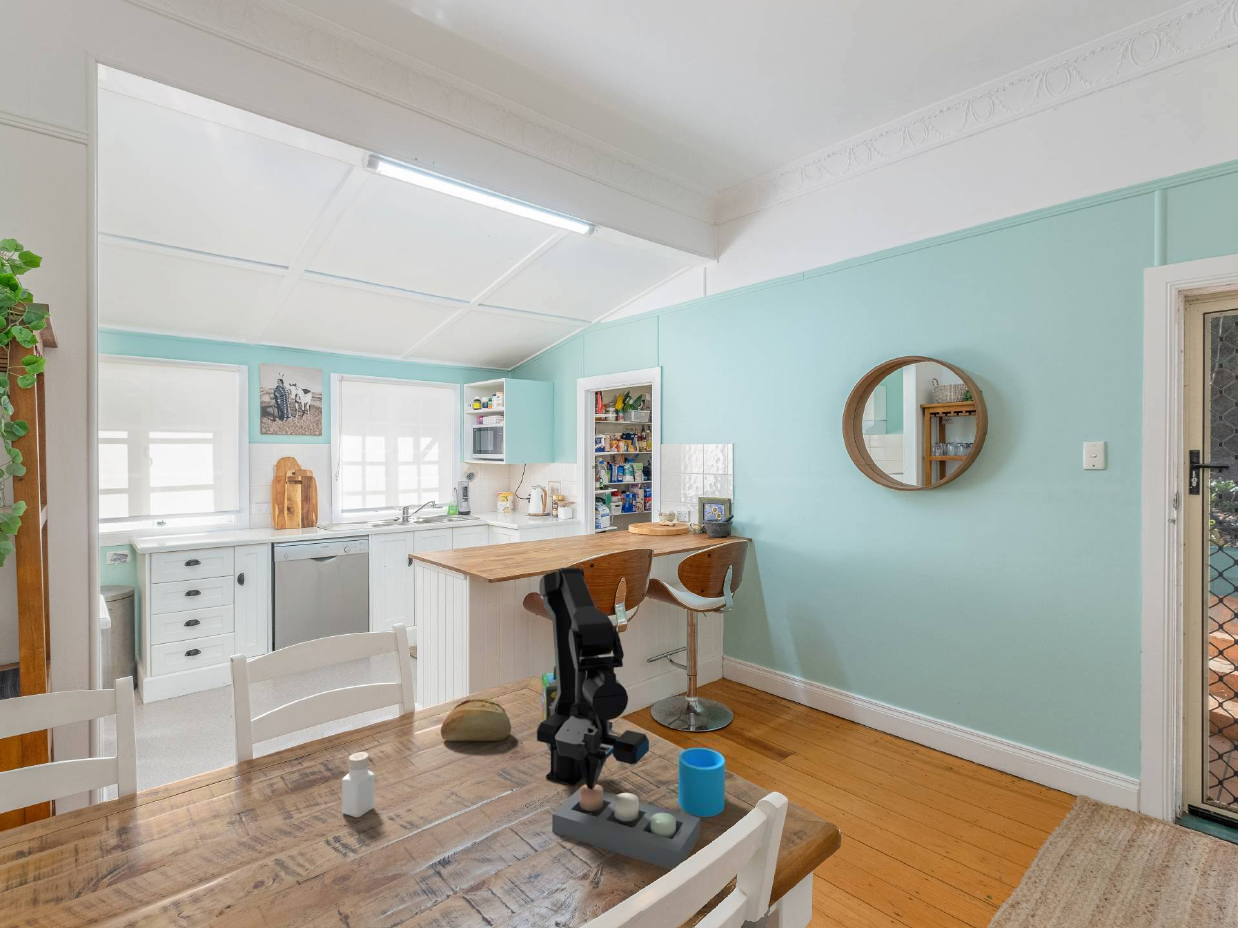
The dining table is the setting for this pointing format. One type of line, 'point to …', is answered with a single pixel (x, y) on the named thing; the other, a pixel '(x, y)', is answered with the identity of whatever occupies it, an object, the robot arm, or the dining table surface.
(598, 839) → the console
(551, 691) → the chalk box
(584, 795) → the terracotta button
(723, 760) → the mug
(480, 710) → the bread roll
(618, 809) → the cream button
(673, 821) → the sage button
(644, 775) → the dining table surface
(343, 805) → the pepper shaker
